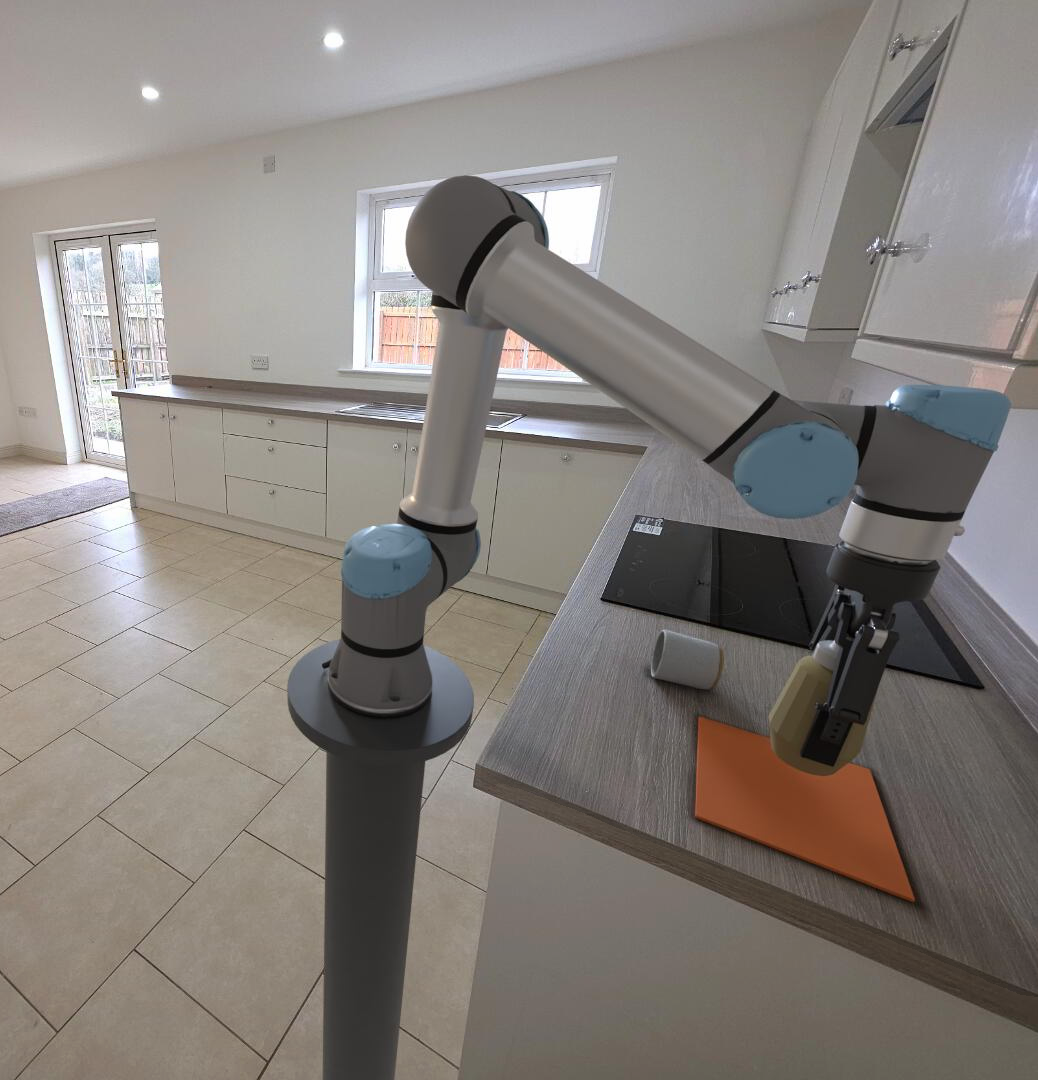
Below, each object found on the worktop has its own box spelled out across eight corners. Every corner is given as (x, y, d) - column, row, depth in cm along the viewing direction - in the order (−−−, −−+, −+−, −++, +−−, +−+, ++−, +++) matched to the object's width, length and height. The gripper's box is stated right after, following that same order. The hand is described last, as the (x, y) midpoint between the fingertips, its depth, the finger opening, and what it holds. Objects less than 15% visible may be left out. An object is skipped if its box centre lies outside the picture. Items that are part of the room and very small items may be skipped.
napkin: (694, 817, 63) (695, 815, 63) (698, 718, 79) (699, 716, 79) (913, 902, 54) (915, 900, 54) (868, 771, 70) (870, 769, 70)
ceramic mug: (716, 701, 82) (730, 656, 79) (652, 687, 85) (664, 643, 83) (704, 664, 91) (717, 623, 88) (647, 652, 94) (657, 612, 92)
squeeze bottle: (851, 758, 65) (913, 621, 58) (845, 798, 59) (913, 652, 52) (765, 724, 70) (813, 595, 63) (752, 758, 64) (803, 621, 58)
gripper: (983, 603, 45) (876, 815, 53) (911, 526, 61) (838, 698, 70) (858, 580, 49) (777, 781, 57) (822, 513, 65) (763, 678, 73)
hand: (811, 735), depth 63 cm, fingers closed on squeeze bottle, 8 cm apart
